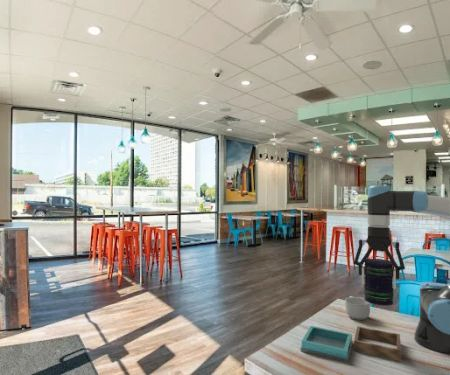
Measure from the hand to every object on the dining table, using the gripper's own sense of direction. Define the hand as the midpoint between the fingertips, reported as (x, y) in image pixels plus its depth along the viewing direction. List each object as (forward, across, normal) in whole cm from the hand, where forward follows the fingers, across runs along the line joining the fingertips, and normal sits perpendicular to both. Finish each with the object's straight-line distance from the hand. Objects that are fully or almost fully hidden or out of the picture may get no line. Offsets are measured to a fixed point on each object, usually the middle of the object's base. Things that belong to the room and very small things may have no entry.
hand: (378, 285), depth 118 cm
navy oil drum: (+6, 0, 0) cm, 6 cm away
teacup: (+23, +10, -30) cm, 39 cm away
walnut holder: (+23, 0, 0) cm, 23 cm away
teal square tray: (+23, +17, +10) cm, 30 cm away
